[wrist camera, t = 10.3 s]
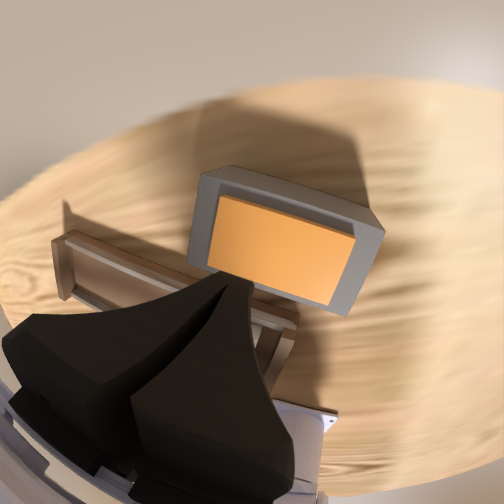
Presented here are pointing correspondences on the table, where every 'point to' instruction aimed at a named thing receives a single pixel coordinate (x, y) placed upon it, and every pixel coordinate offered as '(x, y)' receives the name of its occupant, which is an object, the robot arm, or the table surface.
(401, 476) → the table surface
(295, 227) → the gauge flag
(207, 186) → the box
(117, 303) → the rail
